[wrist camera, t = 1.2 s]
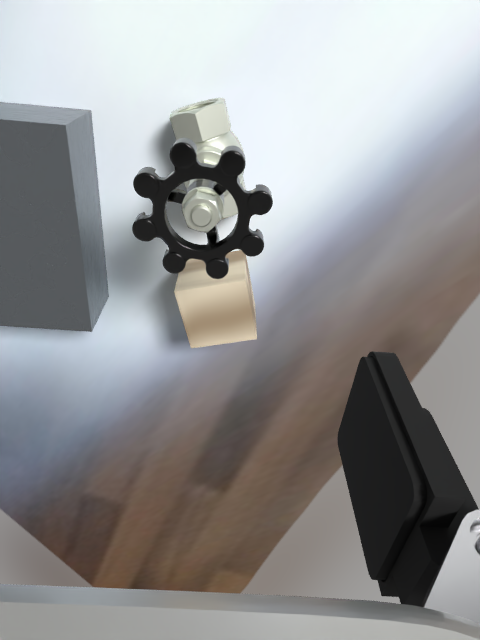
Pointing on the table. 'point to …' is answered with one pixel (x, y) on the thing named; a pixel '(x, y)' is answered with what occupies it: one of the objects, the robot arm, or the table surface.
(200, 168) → the valve
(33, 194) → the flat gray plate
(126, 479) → the table surface
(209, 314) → the pale wood block
